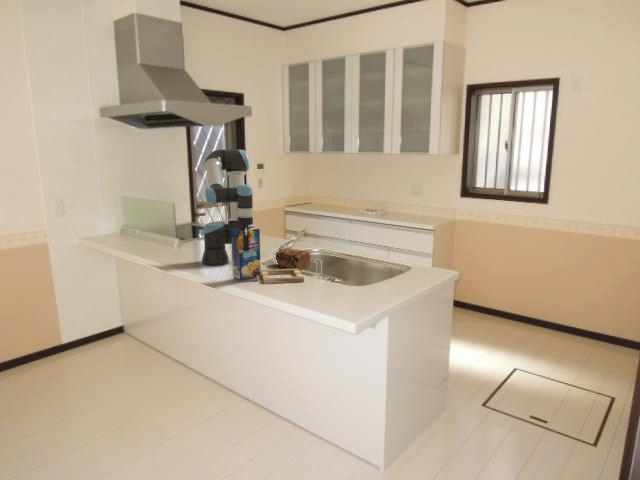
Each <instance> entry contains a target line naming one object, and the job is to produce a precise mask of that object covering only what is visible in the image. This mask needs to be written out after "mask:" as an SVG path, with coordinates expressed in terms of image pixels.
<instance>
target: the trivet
mask: <svg viewBox="0 0 640 480" xmlns="http://www.w3.org/2000/svg"><path fill="white" fill-rule="evenodd" d="M234 279H235V283H248V282H249V281H253V282H259V278H258V276H253V277H248V278H243V279H239V278H237V277H234ZM249 283H250V282H249Z"/></svg>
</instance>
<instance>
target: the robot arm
mask: <svg viewBox="0 0 640 480" xmlns="http://www.w3.org/2000/svg"><path fill="white" fill-rule="evenodd" d="M203 165H204V169H205V171H206V173H207V174H206V176H207V183H208V185H207V186H208V187H206V188H205V189H204V190H205V192H204V193H205V202H206V203H210V204H211V203H213V204H215V203H216V204H217V203H221V204H222V203H229V204H230V205H229V207H230V218H229V219H228V220H227V221H228V222H227V223H226V222H225V220H224V221H223V220H219V221H212V222H208V223H206V224H205V225H204V226H203V240H204V242H203V243H204V246H203V247H204V252H203V254H202V258H201V264H202V265H205V266H221V265H222V266H223V265H227V264H229V263H230V261H229V260H230V258H229V255H228V253H227V250H226V245H232V238H231V229H236V228H241V229H242V230H245V231H244V232H243V233H244V251H247V252H248V251H249V231H248V229H250V228H249V227H253V226H252V225H253V224H254V218H253V217H254V207H253V203H254V202H253V196H254V195H253V194H254V191H253V186H252V185H251V184H245V176H246V174H247V172H248V170H250V162H249V157H248V153H247V151H246V150H244V149H237V148H236V149H222V148H221V149H220V148H219V149H216V150H213V151H212V152H210V153H209V154H208V155H207V156H206V158H205V159H204V164H203ZM222 171H225V172H226V175H228V180H229V181H228V182H229V183H228V184H229V185H228V186H229V187H224V182H223V181H224V180H223V174H222Z"/></svg>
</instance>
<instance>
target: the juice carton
mask: <svg viewBox="0 0 640 480" xmlns="http://www.w3.org/2000/svg"><path fill="white" fill-rule="evenodd" d="M249 228H250V229H248V231H249V251H248V252H247V251H244V233H243V232H244V231H245V230H242V229H241V228H236V229H231V238H232V244H231V258H232V259H231V261H232V277H234V278H235V277H237V278H239V279H243V278H248V277H253V276H257V277H258V276H262V275H261V270H262V268H261V236H260V235H261V232H260V229H261V228H258V227H255V226H251V227H249Z"/></svg>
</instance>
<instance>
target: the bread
mask: <svg viewBox="0 0 640 480" xmlns="http://www.w3.org/2000/svg"><path fill="white" fill-rule="evenodd" d="M275 254H276V260H277V263H278V265H277V266H278V267H283V268H285V269H299V270H300V271H302V270H305V269H309V268H310V264H311V255H310V252H308V251H306V250H302V249H297V248H285V247H284V248H281V249H279V250H278V251H277V252H276V253H275Z"/></svg>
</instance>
